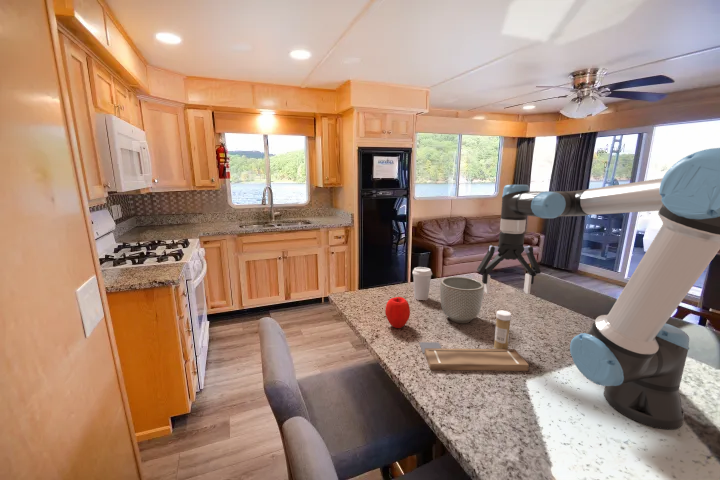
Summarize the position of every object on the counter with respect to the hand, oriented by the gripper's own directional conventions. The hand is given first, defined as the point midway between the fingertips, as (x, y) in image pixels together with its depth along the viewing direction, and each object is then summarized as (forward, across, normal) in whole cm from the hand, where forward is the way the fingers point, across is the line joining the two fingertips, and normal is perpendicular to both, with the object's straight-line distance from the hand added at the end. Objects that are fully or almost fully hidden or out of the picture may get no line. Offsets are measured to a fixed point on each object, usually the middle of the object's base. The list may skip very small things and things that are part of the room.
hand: (506, 292), depth 106 cm
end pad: (+19, +26, +3) cm, 32 cm away
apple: (+19, +36, -13) cm, 43 cm away
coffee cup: (+19, +22, -43) cm, 52 cm away
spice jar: (+20, +2, +3) cm, 20 cm away
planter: (+19, +9, -20) cm, 30 cm away
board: (+20, +13, +11) cm, 26 cm away
